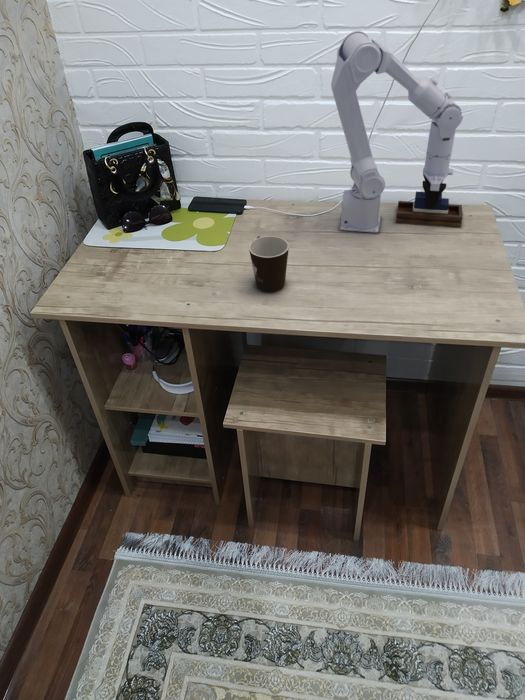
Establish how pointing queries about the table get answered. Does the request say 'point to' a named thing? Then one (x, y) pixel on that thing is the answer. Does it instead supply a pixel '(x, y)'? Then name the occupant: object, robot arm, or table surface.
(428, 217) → the wooden serving tray
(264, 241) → the coffee mug
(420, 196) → the dark blue stepped block
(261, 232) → the table surface
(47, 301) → the table surface
